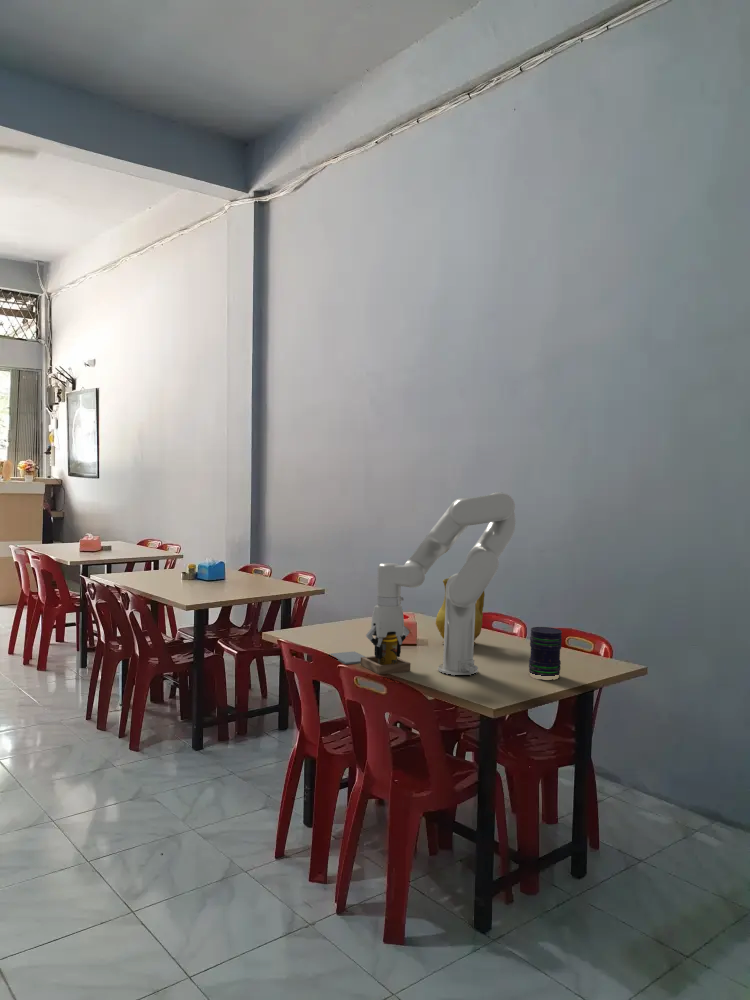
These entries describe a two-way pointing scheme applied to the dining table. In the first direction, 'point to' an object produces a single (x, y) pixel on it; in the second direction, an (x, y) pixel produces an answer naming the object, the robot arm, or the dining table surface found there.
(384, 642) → the condiment
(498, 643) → the dining table surface
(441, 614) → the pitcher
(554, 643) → the storage jar
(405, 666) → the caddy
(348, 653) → the mat
